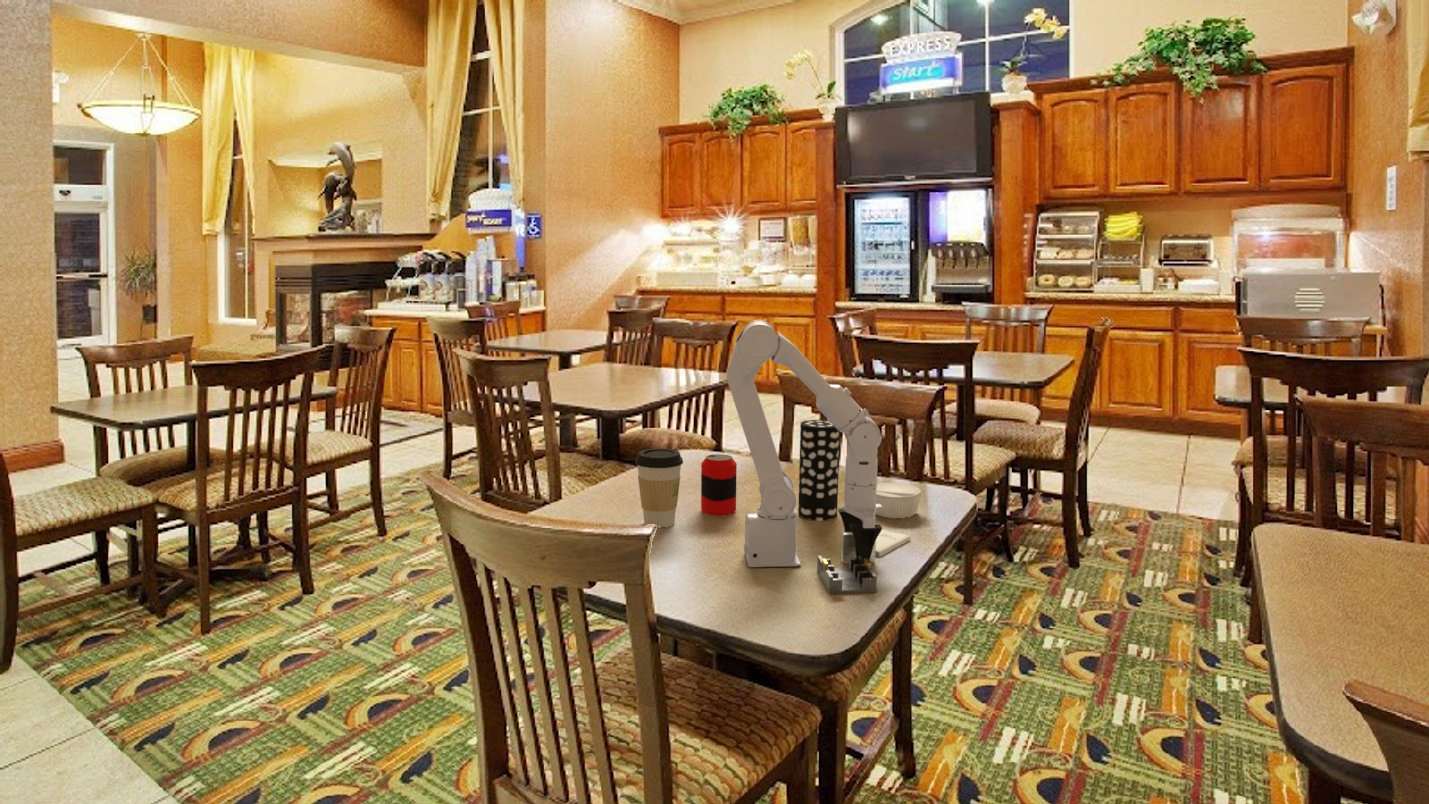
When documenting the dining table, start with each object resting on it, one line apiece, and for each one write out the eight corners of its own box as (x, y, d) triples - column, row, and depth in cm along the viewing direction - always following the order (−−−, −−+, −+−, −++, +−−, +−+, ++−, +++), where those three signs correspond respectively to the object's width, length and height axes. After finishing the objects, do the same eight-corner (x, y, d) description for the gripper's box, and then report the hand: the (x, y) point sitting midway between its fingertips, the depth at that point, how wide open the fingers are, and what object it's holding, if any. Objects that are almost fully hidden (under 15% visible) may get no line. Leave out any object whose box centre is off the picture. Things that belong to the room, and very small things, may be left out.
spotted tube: (839, 521, 192) (842, 428, 188) (799, 520, 192) (802, 427, 188) (834, 509, 200) (837, 420, 196) (796, 509, 200) (798, 419, 196)
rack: (829, 594, 152) (829, 572, 152) (817, 571, 163) (817, 551, 162) (876, 592, 153) (877, 571, 152) (861, 570, 163) (862, 550, 163)
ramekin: (879, 522, 192) (880, 497, 191) (860, 506, 202) (861, 483, 201) (929, 519, 194) (930, 495, 193) (907, 504, 205) (908, 481, 204)
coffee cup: (692, 521, 191) (692, 451, 188) (664, 534, 182) (664, 461, 180) (654, 513, 196) (654, 445, 193) (625, 525, 188) (625, 454, 185)
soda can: (714, 504, 203) (714, 451, 201) (742, 510, 199) (743, 456, 197) (694, 512, 197) (694, 458, 195) (723, 518, 193) (723, 463, 191)
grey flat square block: (842, 563, 167) (843, 534, 166) (840, 560, 169) (841, 531, 168) (874, 562, 167) (876, 534, 166) (872, 559, 169) (873, 531, 168)
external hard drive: (841, 550, 176) (873, 534, 185) (879, 559, 171) (910, 542, 180) (841, 542, 175) (873, 526, 185) (879, 551, 170) (910, 534, 180)
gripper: (893, 493, 159) (890, 567, 161) (872, 471, 173) (869, 540, 175) (853, 493, 158) (850, 568, 160) (835, 472, 172) (833, 541, 175)
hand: (858, 553), depth 168 cm, fingers open, 7 cm apart
